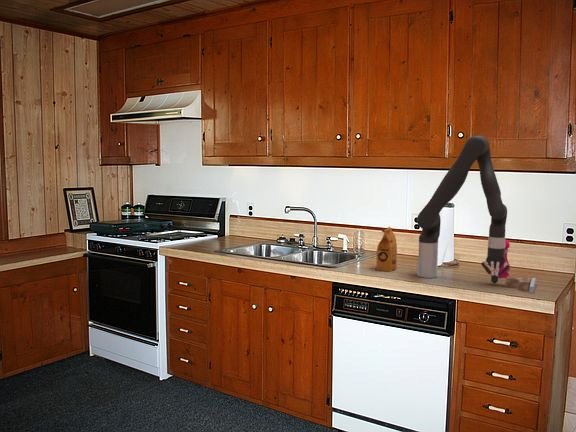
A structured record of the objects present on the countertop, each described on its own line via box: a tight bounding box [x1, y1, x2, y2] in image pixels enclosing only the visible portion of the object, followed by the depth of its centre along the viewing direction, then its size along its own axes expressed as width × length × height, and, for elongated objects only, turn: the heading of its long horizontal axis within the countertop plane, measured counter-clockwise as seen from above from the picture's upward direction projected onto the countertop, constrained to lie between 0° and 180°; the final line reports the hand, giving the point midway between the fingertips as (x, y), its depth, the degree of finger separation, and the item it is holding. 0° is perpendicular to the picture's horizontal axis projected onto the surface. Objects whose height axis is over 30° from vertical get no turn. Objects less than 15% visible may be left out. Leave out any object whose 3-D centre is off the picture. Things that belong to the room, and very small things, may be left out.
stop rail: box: [528, 277, 537, 294], centre depth 252 cm, size 2×18×3 cm, turn 153°
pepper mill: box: [495, 239, 511, 279], centre depth 275 cm, size 7×7×20 cm
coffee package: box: [375, 226, 398, 273], centre depth 292 cm, size 10×12×22 cm
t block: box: [504, 275, 532, 292], centre depth 254 cm, size 10×12×4 cm
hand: (494, 283), depth 259 cm, fingers closed
